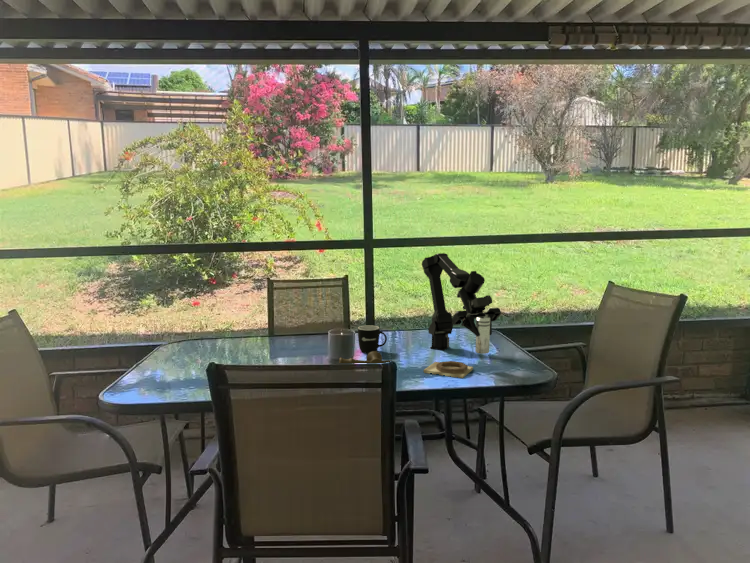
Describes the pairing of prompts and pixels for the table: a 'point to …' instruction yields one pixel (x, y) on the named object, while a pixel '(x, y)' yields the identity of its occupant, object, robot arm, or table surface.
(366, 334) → the mug
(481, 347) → the cylinder
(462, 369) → the collar
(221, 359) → the table surface
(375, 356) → the kendama
